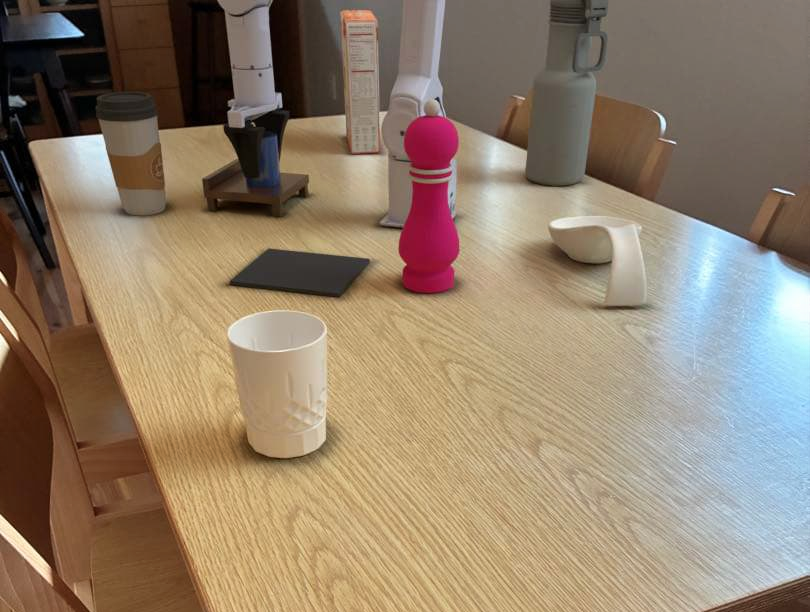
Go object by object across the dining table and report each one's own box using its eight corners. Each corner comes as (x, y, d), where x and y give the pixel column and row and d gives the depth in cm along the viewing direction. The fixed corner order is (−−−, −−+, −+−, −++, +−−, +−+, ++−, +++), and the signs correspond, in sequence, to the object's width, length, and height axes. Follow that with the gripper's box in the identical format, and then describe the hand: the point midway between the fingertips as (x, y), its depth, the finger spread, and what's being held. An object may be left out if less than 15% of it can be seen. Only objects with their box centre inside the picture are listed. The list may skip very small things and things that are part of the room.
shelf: (310, 194, 127) (308, 164, 124) (281, 217, 118) (278, 185, 115) (240, 188, 129) (236, 158, 126) (206, 210, 120) (201, 178, 117)
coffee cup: (159, 219, 117) (138, 104, 107) (106, 215, 118) (81, 101, 109) (182, 203, 123) (165, 92, 114) (132, 199, 124) (110, 89, 115)
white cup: (245, 417, 73) (230, 311, 66) (332, 413, 73) (326, 308, 67) (238, 465, 67) (221, 353, 60) (334, 461, 67) (327, 349, 61)
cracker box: (344, 137, 157) (339, 9, 144) (375, 136, 158) (372, 9, 145) (348, 155, 146) (343, 18, 133) (381, 154, 147) (379, 18, 134)
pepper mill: (464, 277, 100) (474, 95, 87) (448, 298, 94) (455, 108, 82) (409, 269, 101) (410, 91, 89) (390, 290, 96) (388, 103, 84)
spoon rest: (537, 240, 110) (543, 185, 106) (622, 239, 111) (631, 184, 106) (576, 310, 92) (585, 246, 87) (677, 308, 92) (691, 244, 88)
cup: (286, 179, 123) (282, 132, 119) (272, 188, 119) (268, 139, 115) (254, 176, 124) (249, 129, 120) (240, 185, 120) (234, 137, 116)
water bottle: (597, 181, 133) (627, -25, 116) (554, 191, 129) (578, -22, 112) (555, 167, 140) (578, -29, 122) (512, 176, 136) (529, -27, 118)
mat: (369, 262, 104) (369, 258, 103) (339, 297, 94) (339, 293, 94) (268, 252, 106) (268, 248, 106) (229, 285, 97) (229, 280, 97)
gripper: (246, 57, 118) (257, 157, 127) (201, 73, 107) (216, 181, 116) (291, 59, 117) (299, 160, 125) (250, 76, 106) (261, 185, 114)
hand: (262, 170), depth 120 cm, fingers open, 7 cm apart
